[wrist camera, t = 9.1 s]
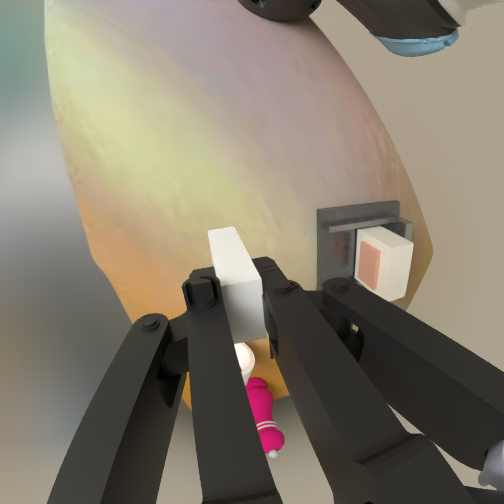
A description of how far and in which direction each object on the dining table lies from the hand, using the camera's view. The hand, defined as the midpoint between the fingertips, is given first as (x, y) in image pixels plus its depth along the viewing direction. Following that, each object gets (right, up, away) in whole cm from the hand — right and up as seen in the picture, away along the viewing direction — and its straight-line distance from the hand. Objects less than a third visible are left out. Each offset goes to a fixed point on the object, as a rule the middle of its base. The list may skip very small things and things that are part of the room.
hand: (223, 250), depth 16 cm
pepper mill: (+2, -31, +42) cm, 52 cm away
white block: (+23, 0, +33) cm, 40 cm away
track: (+22, 0, +34) cm, 41 cm away
